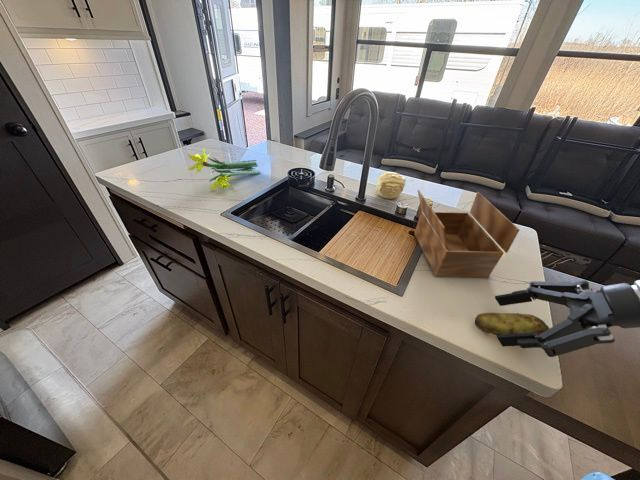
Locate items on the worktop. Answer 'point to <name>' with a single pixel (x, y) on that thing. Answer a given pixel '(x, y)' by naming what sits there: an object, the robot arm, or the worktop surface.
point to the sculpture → (390, 185)
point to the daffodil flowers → (222, 165)
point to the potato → (509, 323)
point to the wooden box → (467, 240)
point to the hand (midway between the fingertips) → (498, 319)
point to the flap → (433, 219)
